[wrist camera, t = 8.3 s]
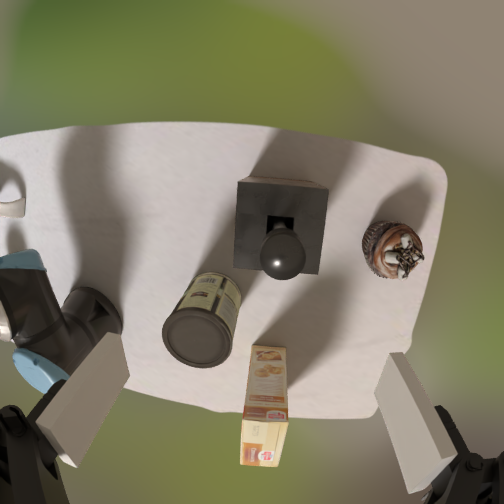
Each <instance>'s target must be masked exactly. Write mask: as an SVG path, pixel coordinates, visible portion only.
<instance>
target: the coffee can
mask: <svg viewBox="0 0 504 504" xmlns="http://www.w3.org/2000/svg"><path fill="white" fill-rule="evenodd" d="M240 306H241V294H240V291H239V288H238V287H237V285H236V284H235V283H234V282H233V281H232V280H231V279H230V278H229V277H227V276H225V275H223V274H220V273H215V272H208V273H203V274H200V275H198V276H197V277H195V278H194V279H193V280H192V281H191V283H190V284H189V286H188V288H187V290H186V291H185V293H184V294H183V296H182V298H181V299H180V301H179V302H178V304H177V305H176V307H175V309H174V310H173V312H172V313H171V315H170V316H169V317H168V318H167V319H166V321H165V323H164V325H163V328H162V338H163V342H164V344H165V346H166V348H167V350H168V351H169V352H170V354H171V355H172V356H173V357H175V358H176V359H177V360H179V361H180V362H182V363H184V364H186V365H188V366H191V367H195V368H211V367H215V366H218V365H220V364H221V363H223V362H224V361H225V360H226V359H227V358H228V357H229V355H230V353H231V350H232V341H233V336H234V332H235V327H236V323H237V318H238V313H239V308H240Z"/></svg>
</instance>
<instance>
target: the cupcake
mask: <svg viewBox="0 0 504 504" xmlns="http://www.w3.org/2000/svg"><path fill="white" fill-rule="evenodd" d="M362 249H363V253H364V255H365V259H366V262H367V265H368V266H369V268H371V271H372V272H374V274H375V273H376V275H377V276H378V275H379V277H383V278H384V277H385V278H386V279H387V278H390V279H396V278H398V279H399V280H401V281H404V280H406V279H407V277H408V274H409V273H410V272H411V271H412V270H413V269H414V268H415V267H416V266H417V264H418V263H421V262H423V260H424V255H423V254H422V250H423V249H422V242H421V240H420V238H419V236H418V235H417V234H416V233H415V232H414V231H413V230H412V229H411V228H410V227H409V226H407V225H405V224H404V223H401V222H397V221H381V222H377V223H375V224H373V225H371V226H370V227H369V229H367V231H366V232H365V234H364V236H363V239H362Z"/></svg>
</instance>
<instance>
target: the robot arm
mask: <svg viewBox="0 0 504 504" xmlns="http://www.w3.org/2000/svg"><path fill="white" fill-rule="evenodd" d="M46 272H47V270H46V268H45V267H44V265H43V262H42V259H41V257H40V254H39V253H38V252H37V251H36V250H34V249H27V250H23V251H19V252H15V253H12V254H8V255H5V256H2V257H0V339H1V340H3V341H6V342H8V341H10V340H11V339H13V340H14V342H15V344H16V346H17V348H16V349H15V350H14V352H13V362H14V364H15V366H16V368H17V370H18V371H19V372H20V374H21V375H22V376H23V377H24V378H25V379H26V380H27V381H28V382H29V383H30V384H31V385H32V386H33V387H35V388H36V389H37V390H39V391H40V392H42V393H44V394H45V395H44V396H43V398H42V399H41V400H40V401H39V402H38V403H37V405H36V406H35V407H34V408H33V410H32V411H31V412H30V414H29V415H28V416H27V417H25V415H24V414H23V412H22V411H21V409H20V408H19V407H17V406H15V405H8V406H5V407H3V408H2V409H0V504H70V503H69V501H68V498H67V495H66V492H65V489H64V485H63V482H62V479H61V475H60V471H59V467H58V464H57V462H56V459H55V458H56V457H57V455H59V457H60V458H61V459H62V460H63V462H65V463H67V464H70V465H72V466H74V467H76V468H78V467H79V465H80V463H81V461H82V459H83V457H84V455H85V453H86V452H87V449H88V448H89V446H90V444H91V442H92V441H93V439H94V437H95V435H96V434H97V432H98V430H99V428H100V426H101V425H102V422H103V421H104V419H105V418H106V415H107V414H108V412H109V411H110V409H111V407H112V405H113V404H114V402H115V400H116V398H117V397H118V395H119V393H120V392H121V389H122V388H123V387H124V385H125V383H126V382H127V380H128V378H129V376H130V374H129V370H128V366H127V362H126V358H125V353H124V349H123V344H122V340H121V333H122V325H121V320H120V317H119V315H118V312H117V311H116V309H115V307H114V306H113V304H112V303H111V302H110V301H109V300H108V299H107V298H106V297H105V296H104V295H103V294H101V293H100V292H98V291H96V290H94V289H92V288H88V287H80V288H77V289H76V290H74V291H73V292H71V293H70V294H69V295H68V296H67V298H66V299H65V301H64V305H63V306H62V307H61V309H60V306H59V304H58V302H57V299H56V297H55V294H54V292H53V289H52V287H51V284H50V281H49V279H48V276H47V273H46ZM374 394H375V397H376V400H377V402H378V405H379V407H380V410H381V413H382V415H383V418H384V421H385V424H386V426H387V429H388V432H389V435H390V438H391V441H392V444H393V447H394V450H395V453H396V456H397V459H398V462H399V465H400V468H401V471H402V474H403V477H404V481H405V484H406V487H407V491H408V493H409V494H410V493H414V492H417V491H420V490H424V488H426V487H427V486H428V485H429V484H430V483H431V484H432V487H433V488H432V489H431V490H430V491H429V492H428V493H426V494H425V495H424V496H423V498H422V499H421V500H424V499H425V498H426V497H427V498H426V500H425V502H424V504H504V451H503V452H502V453H501V454H500V455H499V456H498V457H497V458H491V459H483V458H482V457H481V456H480V455H478V454H477V453H470V451H469V450H468V448H467V446H466V444H465V442H464V440H463V438H462V436H461V435H460V433H459V431H458V429H457V428H456V425H455V424H454V422H453V420H452V418H451V416H450V414H449V413H448V411H447V410H445V409H444V408H443V407H442V406H441V405H439V406H435V407H434V406H433V404H432V402H431V401H430V399H429V397H428V395H427V394H426V392H425V390H424V388H423V386H422V385H421V383H420V381H419V379H418V378H417V376H416V374H415V372H414V371H413V369H412V367H411V366H410V364H409V362H408V361H407V359H406V357H405V356H404V354H403V352H398V353H389V355H388V358H387V361H386V364H385V366H384V369H383V372H382V374H381V377H380V379H379V382H378V384H377V387H376V389H375V392H374Z"/></svg>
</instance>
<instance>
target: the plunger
mask: <svg viewBox="0 0 504 504" xmlns="http://www.w3.org/2000/svg"><path fill="white" fill-rule="evenodd" d="M293 220H294V217H283V216H271V215H268V216H267V229H266V236H265V237H264V239H263V241H262V246H261V253H260V263H261V266H262V268H263V270H264V271H265V273H266V274H267V275H269V276H270V277H272V278H274V279H277V280H288V279H291V278H294V277H295V276H297V275H298V274H299V273H300V272H301V271H302V270H303V268H304V266H305V262H306V253H305V250H304V247H303V244H302V242H301V239H300V237H299V236H298V235H297V234H296V233H295V232H294V231H292V230H293Z"/></svg>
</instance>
